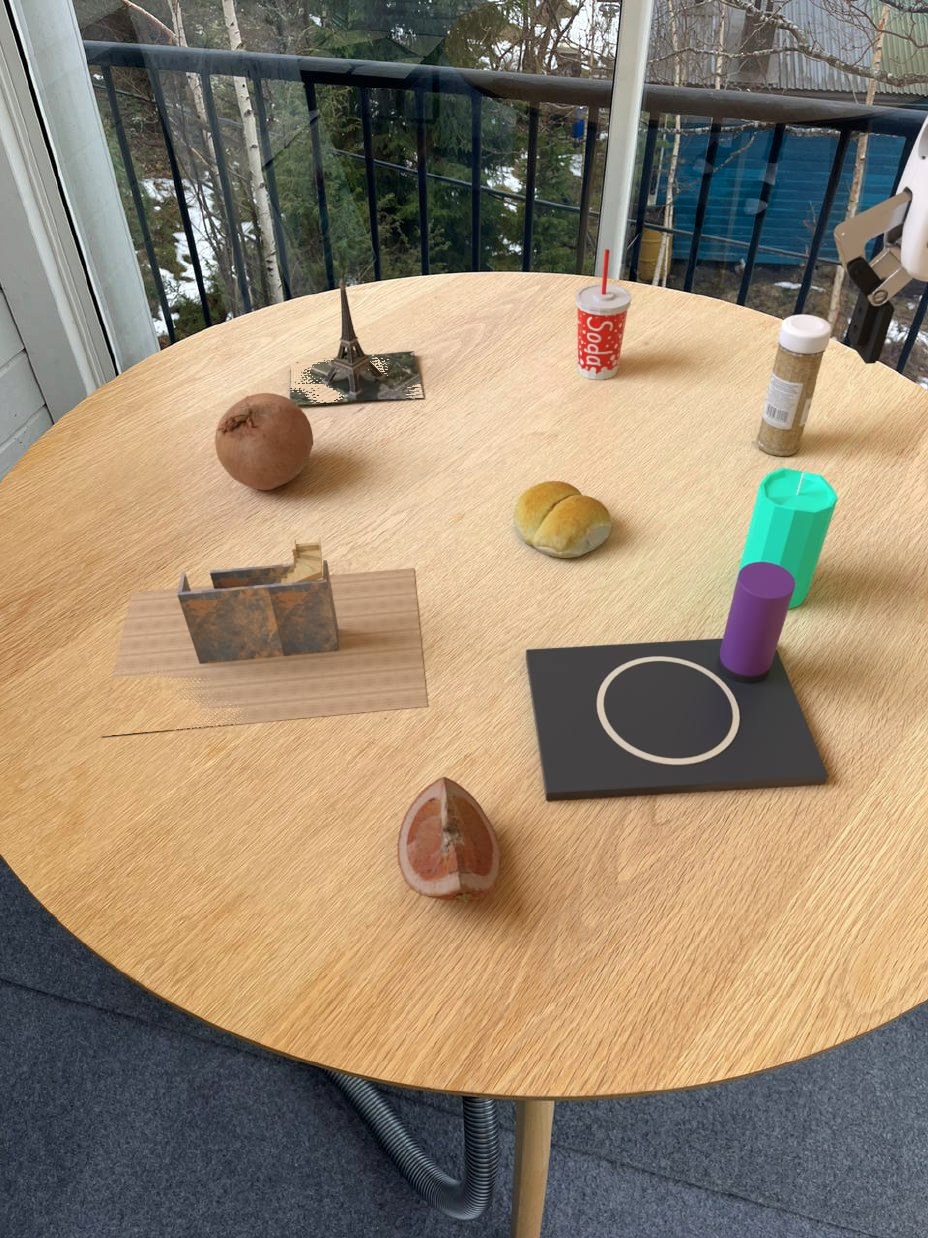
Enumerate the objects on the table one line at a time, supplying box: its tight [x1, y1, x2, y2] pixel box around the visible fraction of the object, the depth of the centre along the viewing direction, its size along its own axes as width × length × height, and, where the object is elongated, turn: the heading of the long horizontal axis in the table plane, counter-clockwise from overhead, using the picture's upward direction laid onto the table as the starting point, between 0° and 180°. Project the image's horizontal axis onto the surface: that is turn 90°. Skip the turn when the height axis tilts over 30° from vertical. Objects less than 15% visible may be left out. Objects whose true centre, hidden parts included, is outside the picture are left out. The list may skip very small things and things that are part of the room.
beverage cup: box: [574, 248, 633, 381], centre depth 104 cm, size 6×6×14 cm
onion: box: [214, 392, 314, 491], centre depth 92 cm, size 10×9×10 cm
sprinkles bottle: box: [755, 314, 832, 457], centre depth 92 cm, size 5×5×14 cm
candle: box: [736, 467, 839, 610], centre depth 77 cm, size 6×6×12 cm
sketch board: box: [525, 637, 830, 802], centre depth 71 cm, size 20×14×1 cm
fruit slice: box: [397, 776, 502, 903], centre depth 61 cm, size 8×7×5 cm
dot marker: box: [718, 562, 795, 683], centre depth 71 cm, size 4×4×9 cm
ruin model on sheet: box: [112, 536, 428, 731], centre depth 75 cm, size 25×16×10 cm, turn 96°
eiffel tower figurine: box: [289, 273, 423, 405], centre depth 104 cm, size 15×10×13 cm
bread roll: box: [513, 480, 611, 559], centre depth 87 cm, size 8×9×4 cm
